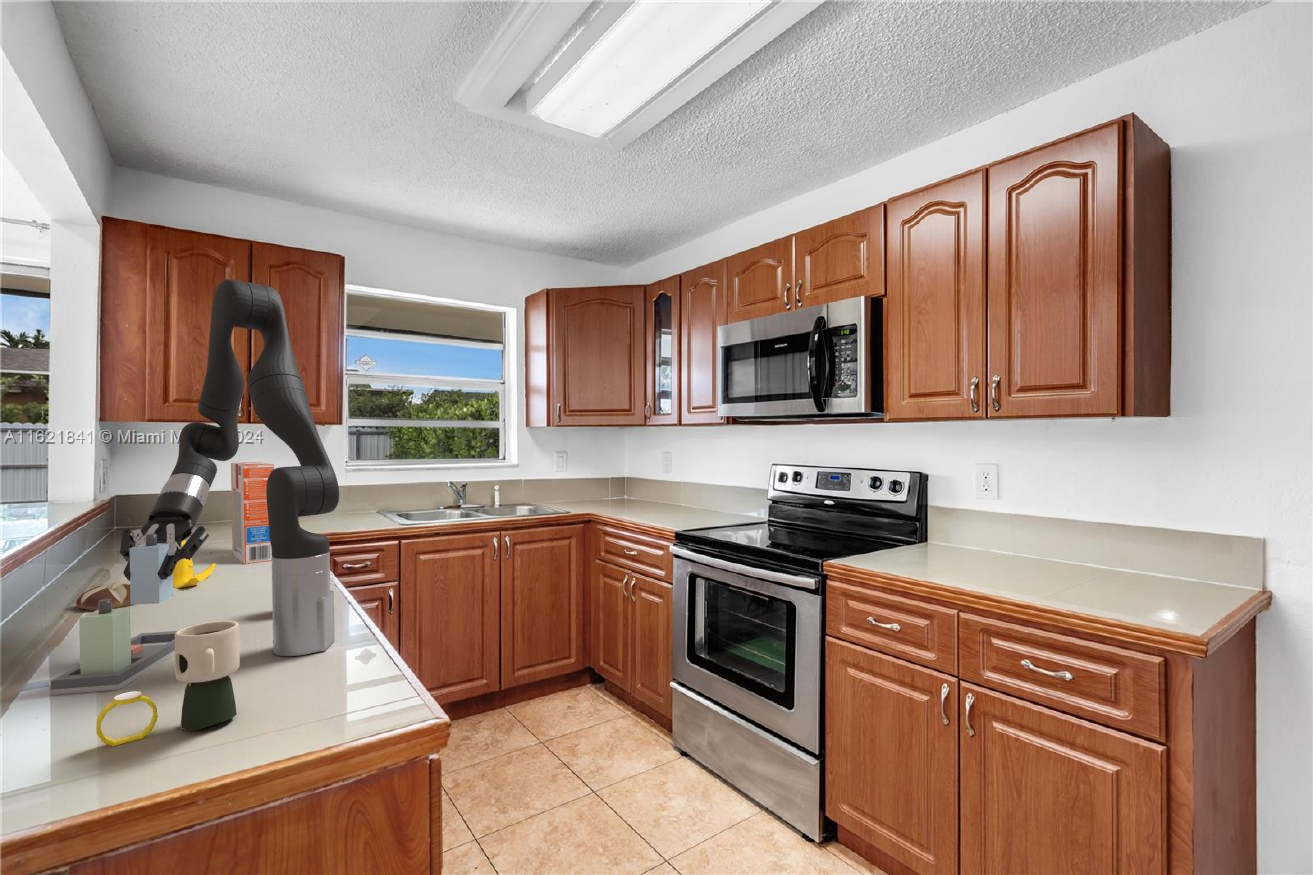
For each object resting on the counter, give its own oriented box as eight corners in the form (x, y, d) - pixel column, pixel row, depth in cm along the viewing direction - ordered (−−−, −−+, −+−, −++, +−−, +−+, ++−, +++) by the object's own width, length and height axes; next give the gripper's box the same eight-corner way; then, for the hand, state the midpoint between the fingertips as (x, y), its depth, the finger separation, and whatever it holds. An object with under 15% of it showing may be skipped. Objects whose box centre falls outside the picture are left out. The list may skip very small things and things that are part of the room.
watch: (154, 732, 84) (157, 686, 85) (156, 739, 82) (160, 693, 83) (94, 744, 80) (98, 696, 80) (95, 752, 78) (99, 703, 78)
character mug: (176, 716, 88) (174, 623, 88) (237, 703, 92) (236, 614, 92) (176, 747, 79) (174, 644, 79) (243, 730, 84) (242, 632, 84)
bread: (132, 597, 155) (131, 576, 155) (146, 604, 148) (146, 583, 148) (71, 607, 146) (70, 586, 146) (83, 616, 139) (83, 593, 139)
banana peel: (217, 575, 178) (216, 515, 178) (196, 590, 161) (195, 524, 160) (145, 580, 172) (143, 519, 172) (115, 597, 155) (113, 529, 154)
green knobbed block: (131, 668, 104) (129, 595, 104) (113, 678, 100) (112, 603, 100) (99, 670, 104) (98, 597, 103) (80, 681, 99) (78, 604, 99)
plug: (173, 596, 117) (172, 531, 117) (159, 603, 113) (158, 536, 113) (145, 598, 116) (144, 532, 116) (130, 604, 112) (129, 536, 112)
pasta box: (275, 560, 197) (273, 464, 197) (244, 564, 192) (242, 465, 191) (261, 550, 214) (259, 461, 214) (232, 554, 209) (230, 462, 208)
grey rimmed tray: (195, 641, 120) (195, 625, 120) (119, 689, 98) (118, 670, 98) (141, 645, 119) (141, 629, 119) (50, 695, 96) (50, 675, 96)
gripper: (130, 490, 120) (88, 568, 109) (215, 489, 123) (182, 564, 111) (147, 515, 125) (109, 591, 114) (228, 512, 128) (198, 587, 117)
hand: (145, 577), depth 113 cm, fingers closed on plug, 4 cm apart
